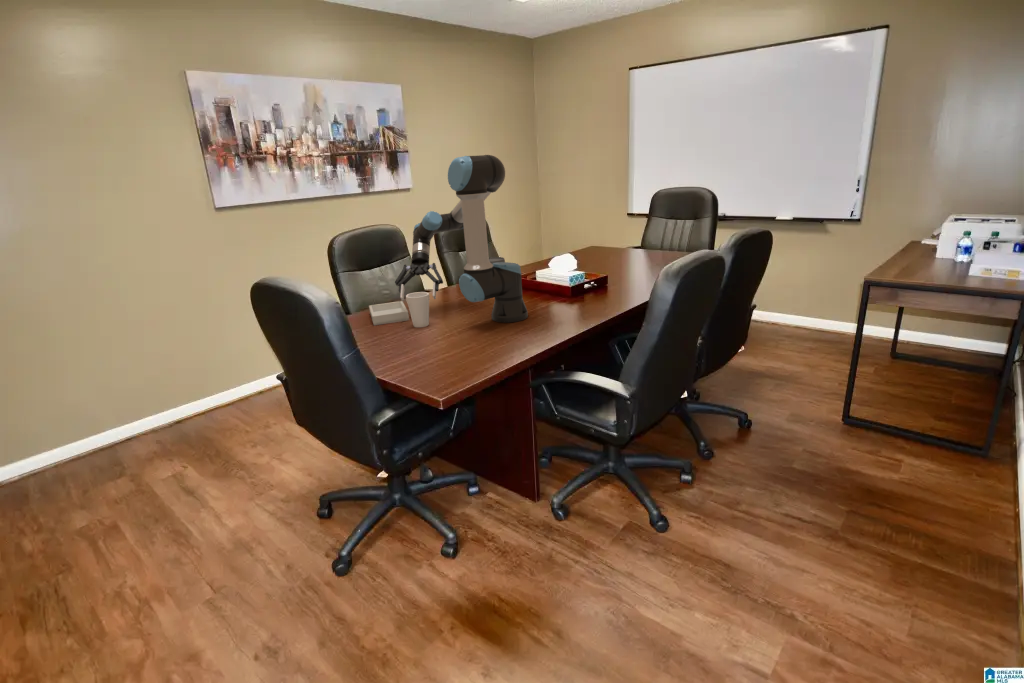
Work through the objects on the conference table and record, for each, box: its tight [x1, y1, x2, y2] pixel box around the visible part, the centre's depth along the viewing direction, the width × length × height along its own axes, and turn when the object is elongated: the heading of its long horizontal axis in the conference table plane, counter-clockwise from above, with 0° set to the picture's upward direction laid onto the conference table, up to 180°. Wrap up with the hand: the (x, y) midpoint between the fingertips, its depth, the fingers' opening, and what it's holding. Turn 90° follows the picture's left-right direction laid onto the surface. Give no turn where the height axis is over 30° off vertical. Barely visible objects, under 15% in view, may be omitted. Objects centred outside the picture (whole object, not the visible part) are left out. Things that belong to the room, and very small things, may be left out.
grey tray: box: [368, 300, 410, 326], centre depth 234 cm, size 20×15×4 cm
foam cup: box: [405, 291, 430, 328], centre depth 217 cm, size 10×9×13 cm
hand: (418, 298), depth 220 cm, fingers open, 13 cm apart
